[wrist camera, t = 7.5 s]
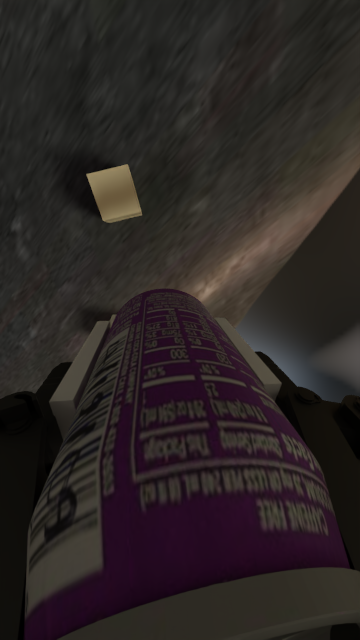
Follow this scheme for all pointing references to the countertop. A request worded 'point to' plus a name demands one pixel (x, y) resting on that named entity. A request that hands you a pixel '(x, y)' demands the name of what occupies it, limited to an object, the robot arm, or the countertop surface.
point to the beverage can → (183, 499)
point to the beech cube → (115, 193)
